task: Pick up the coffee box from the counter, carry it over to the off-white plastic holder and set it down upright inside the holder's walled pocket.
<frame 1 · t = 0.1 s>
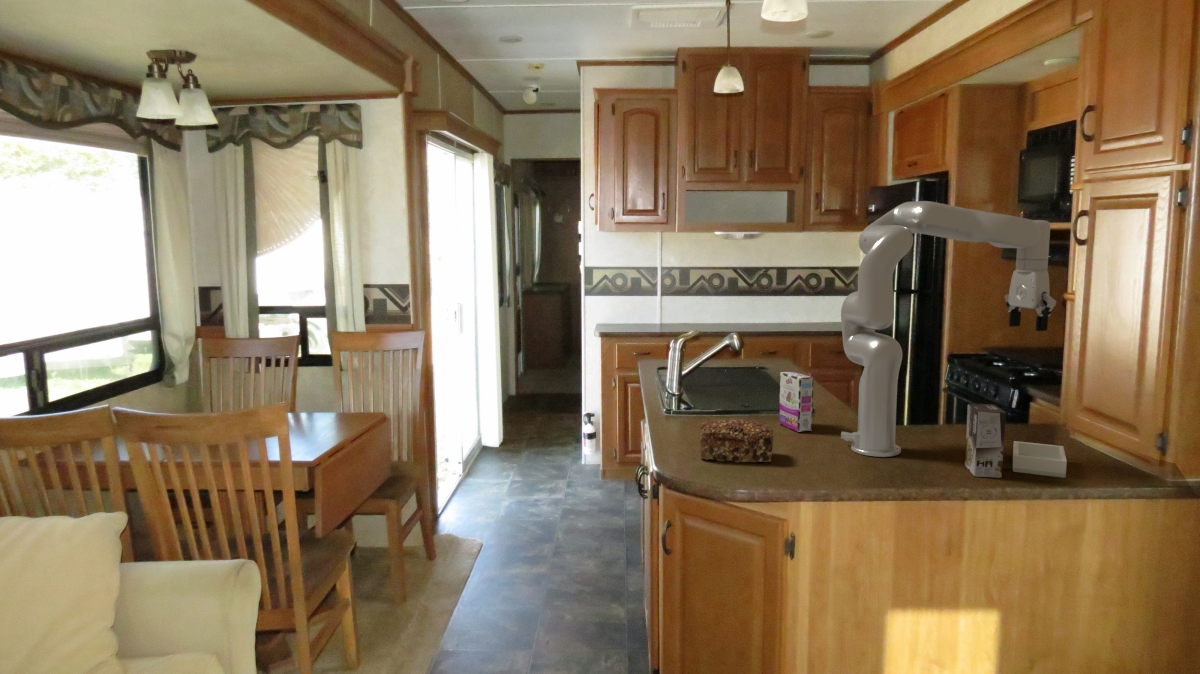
hand: (1027, 328, 209), 31 cm above the counter, tool pointing down, fingers open, 9 cm apart
coffee box: (982, 472, 186), on the counter
holder: (1037, 466, 189), on the counter
candy bar box: (795, 428, 228), on the counter
bread: (736, 458, 201), on the counter
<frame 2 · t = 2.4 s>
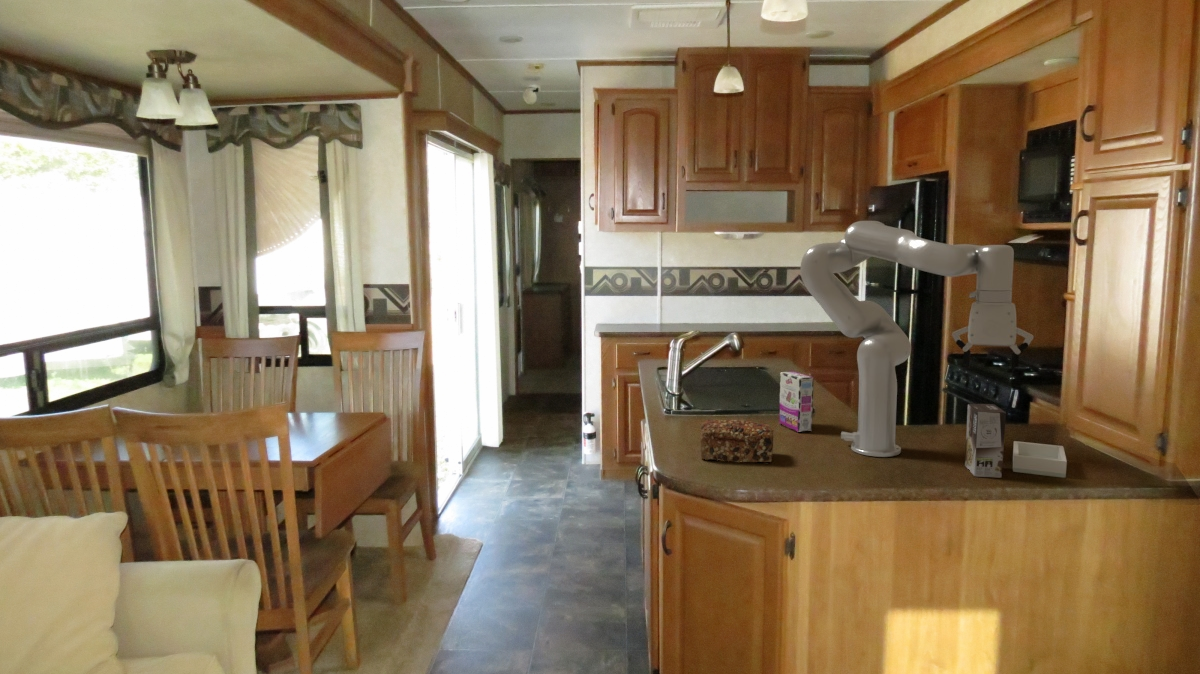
hand: (990, 368, 182), 26 cm above the counter, tool pointing down, fingers open, 9 cm apart
nothing on the counter moved.
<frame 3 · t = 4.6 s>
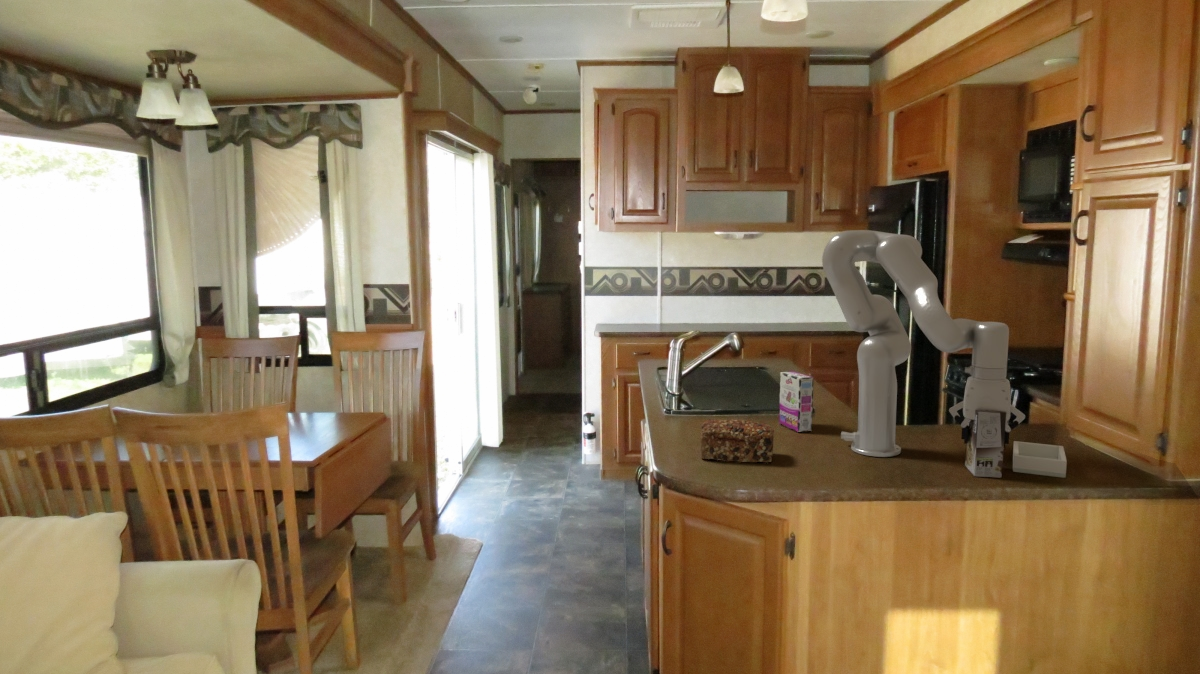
hand: (984, 444, 185), 7 cm above the counter, tool pointing down, fingers closed on coffee box, 7 cm apart
coffee box: (982, 472, 186), on the counter, touching gripper
everything else where it was.
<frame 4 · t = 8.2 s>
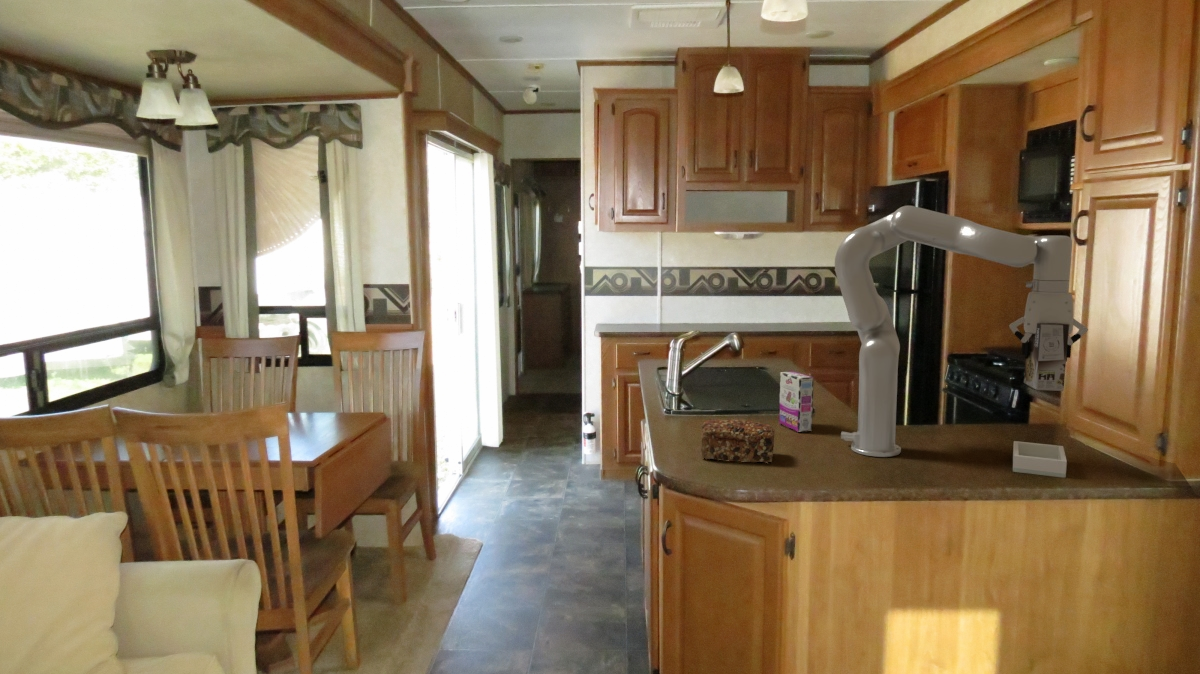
hand: (1045, 358, 185), 27 cm above the counter, tool pointing down, fingers closed on coffee box, 7 cm apart
coffee box: (1043, 387, 186), point 20 cm above the counter, touching gripper
everything else where it was.
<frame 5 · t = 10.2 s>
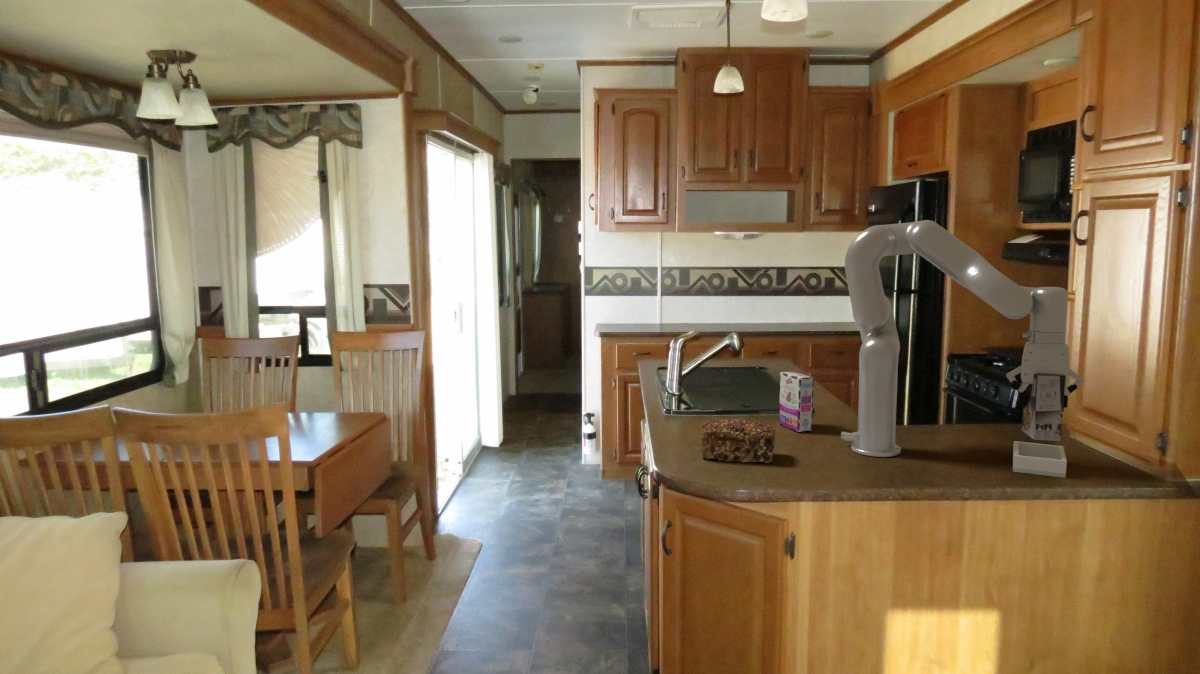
hand: (1042, 408, 187), 15 cm above the counter, tool pointing down, fingers closed on coffee box, 7 cm apart
coffee box: (1040, 436, 188), point 8 cm above the counter, touching gripper
everything else where it was.
when the fingers open (9 cm above the counter, at t = 12.0 s): coffee box drops 1 cm, resting on holder.
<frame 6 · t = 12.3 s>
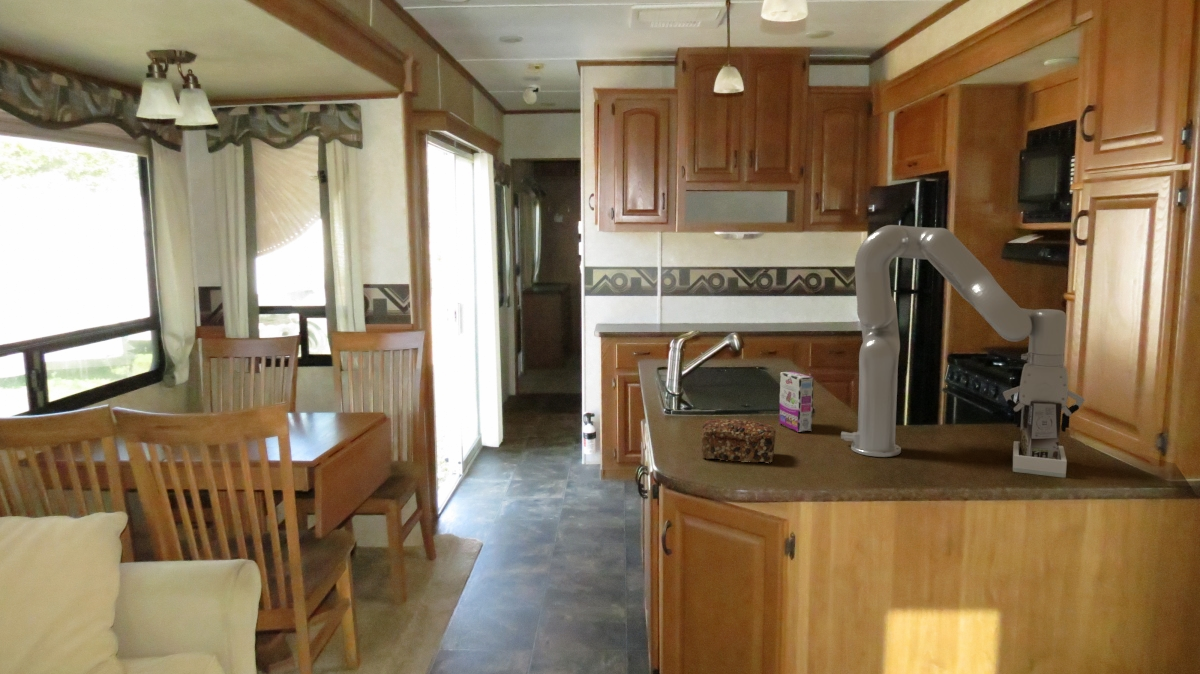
hand: (1040, 428, 188), 10 cm above the counter, tool pointing down, fingers open, 9 cm apart
coffee box: (1037, 463, 189), point 1 cm above the counter, touching holder
everything else where it was.
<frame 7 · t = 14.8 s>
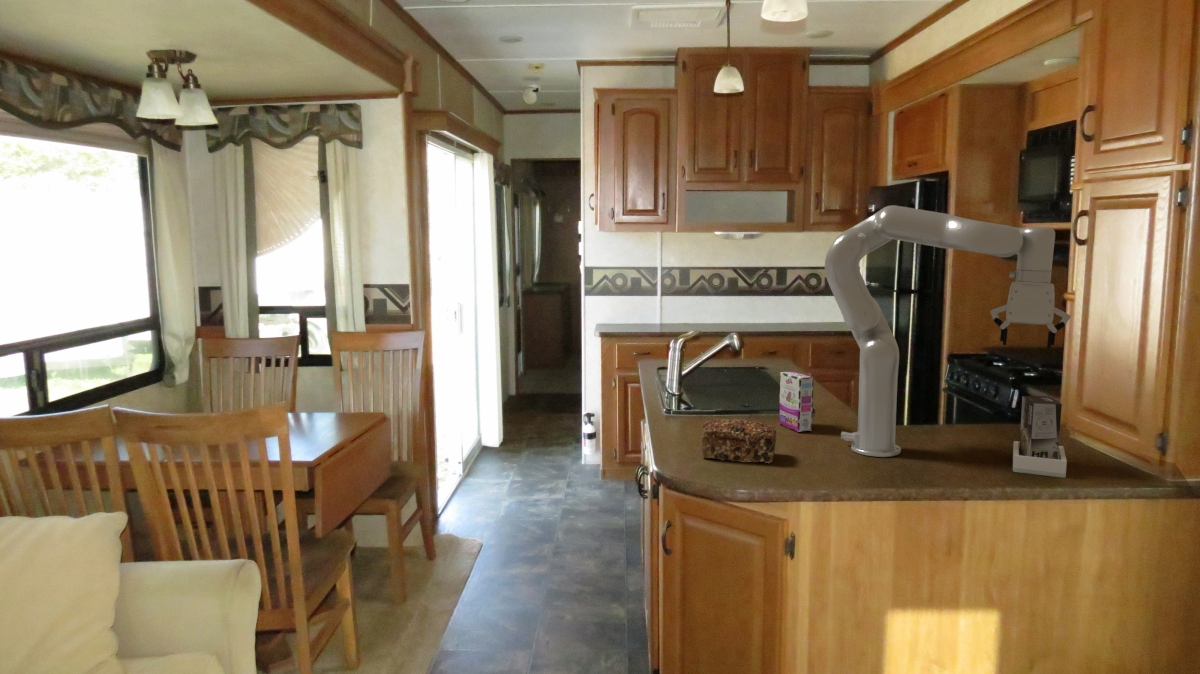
hand: (1026, 346, 189), 30 cm above the counter, tool pointing down, fingers open, 9 cm apart
nothing on the counter moved.
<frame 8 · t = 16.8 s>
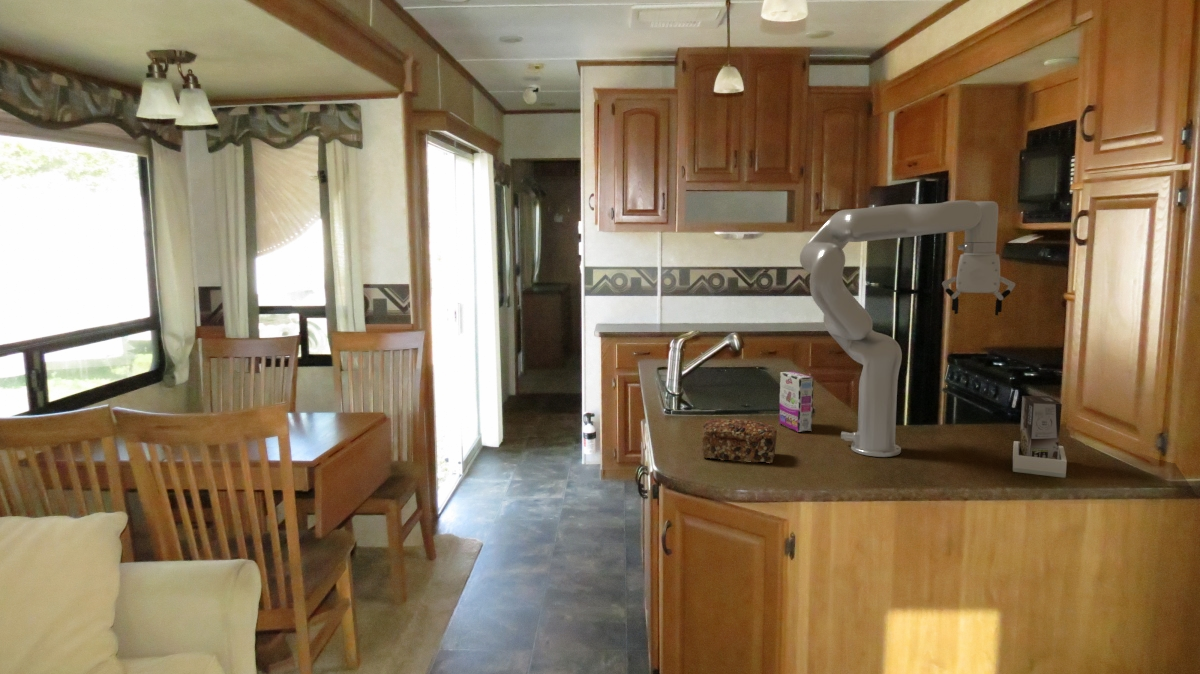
hand: (976, 314, 201), 36 cm above the counter, tool pointing down, fingers open, 9 cm apart
nothing on the counter moved.
at the end: coffee box 0.2 cm off-centre on the holder, point 0.8 cm above the holder's base; coffee box tilted 0°; the gripper is holding nothing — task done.
